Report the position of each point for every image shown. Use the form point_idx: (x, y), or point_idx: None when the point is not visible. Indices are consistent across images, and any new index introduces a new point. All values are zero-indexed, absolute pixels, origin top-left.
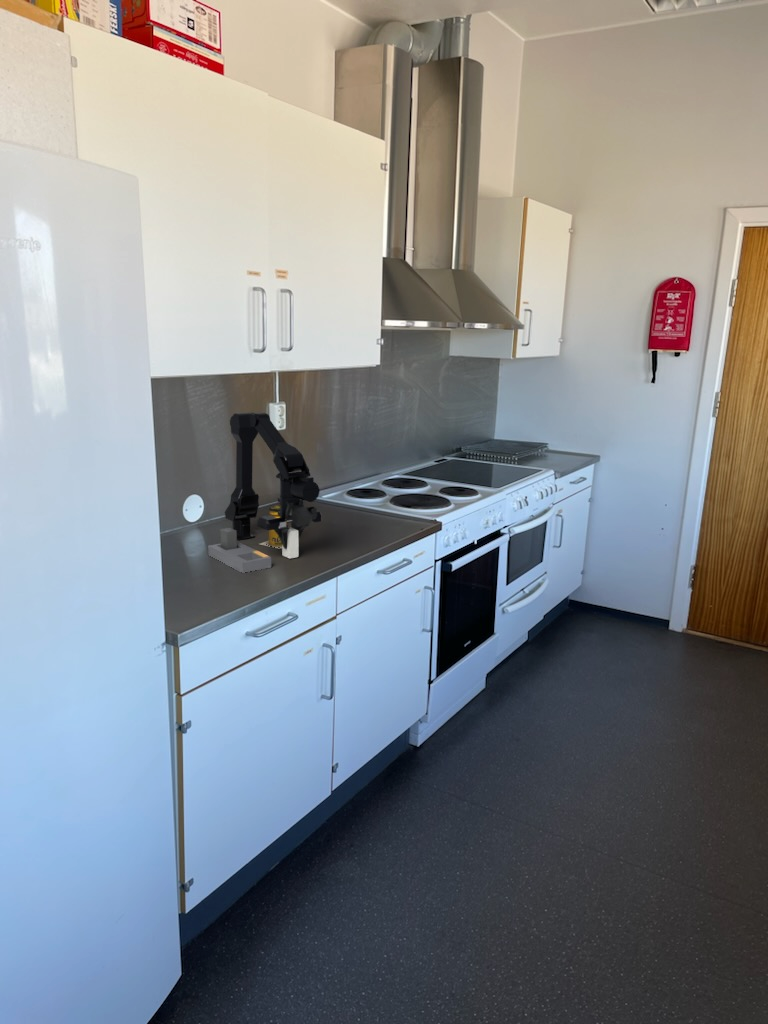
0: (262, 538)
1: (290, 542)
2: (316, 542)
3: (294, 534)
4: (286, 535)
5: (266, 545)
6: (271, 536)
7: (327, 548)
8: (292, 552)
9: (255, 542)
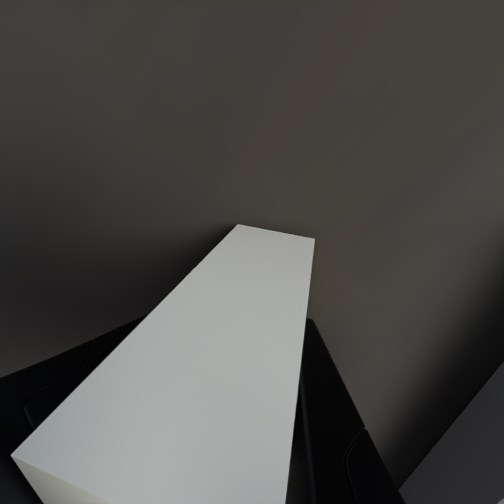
0: None
1: (291, 325)
2: (47, 325)
3: (172, 406)
4: (333, 486)
5: None
6: None
7: (24, 233)
8: (282, 253)
9: None
